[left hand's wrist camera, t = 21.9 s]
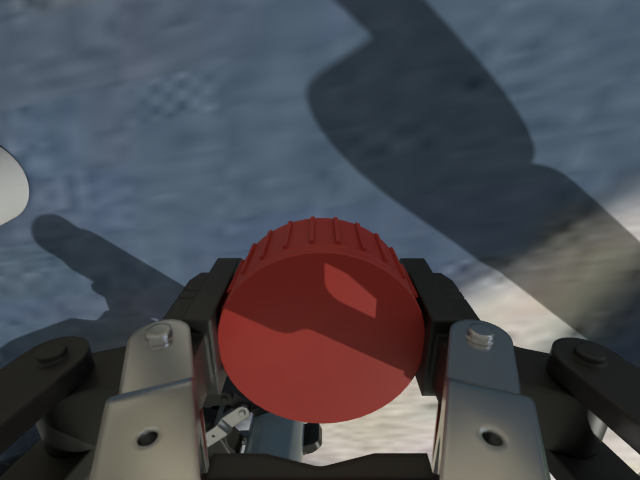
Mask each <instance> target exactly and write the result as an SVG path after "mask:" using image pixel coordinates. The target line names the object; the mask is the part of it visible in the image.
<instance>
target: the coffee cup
mask: <svg viewBox="0 0 640 480" xmlns="http://www.w3.org/2000/svg"><path fill="white" fill-rule="evenodd" d="M28 198H29V186H28V182H27V179H26V176H25V174H24V172H23V170H22V168H21V167H20V165H19V164H18V163H17V161H16V160H15V159H14V158H13V157H12V156H11V155H10V154H9V153H8V152H6V151H5V150H4V149H2V148H1V147H0V225H2V224H4V223H5V222H7V221H9V220H11V219H13V218H15V217H17V216H18V215H19V214H20V213H21V212H22V211H23V210H24V209H25V207H26V205H27V202H28Z"/></svg>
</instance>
